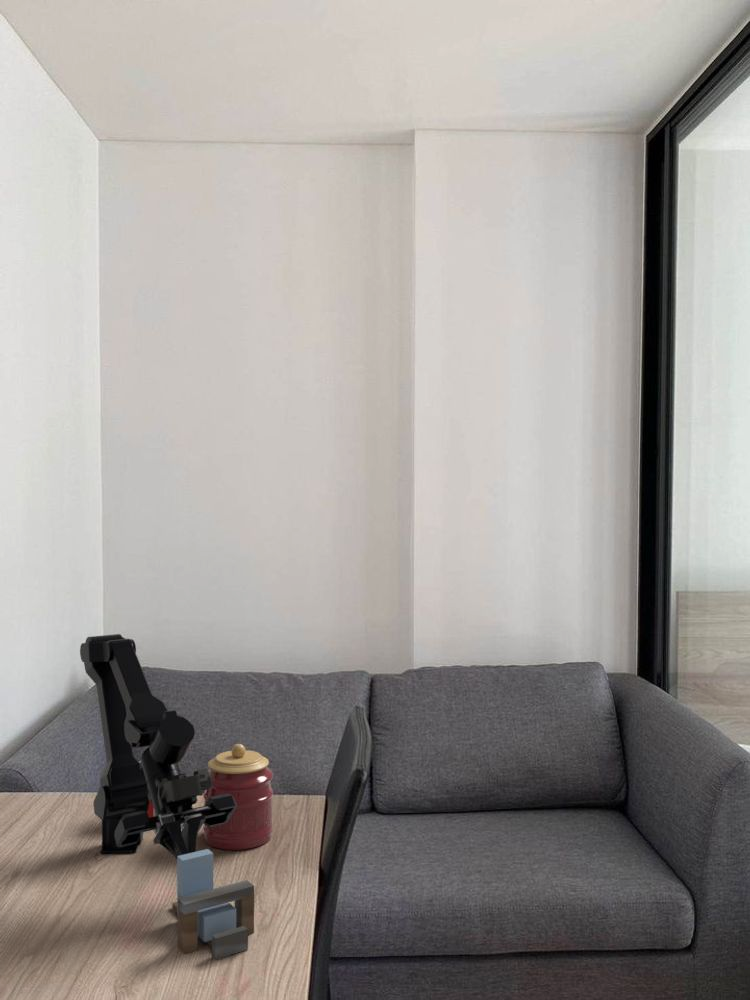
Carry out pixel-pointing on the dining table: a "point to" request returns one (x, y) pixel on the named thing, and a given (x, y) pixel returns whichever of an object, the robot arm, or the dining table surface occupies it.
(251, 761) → the canister
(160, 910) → the dining table surface
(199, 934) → the light blue l-shaped block
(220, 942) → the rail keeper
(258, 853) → the dining table surface
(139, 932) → the dining table surface
